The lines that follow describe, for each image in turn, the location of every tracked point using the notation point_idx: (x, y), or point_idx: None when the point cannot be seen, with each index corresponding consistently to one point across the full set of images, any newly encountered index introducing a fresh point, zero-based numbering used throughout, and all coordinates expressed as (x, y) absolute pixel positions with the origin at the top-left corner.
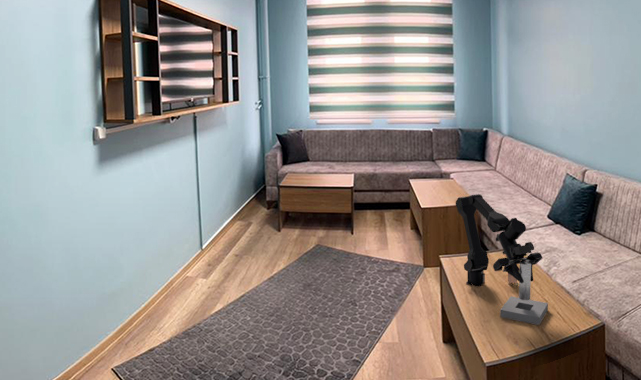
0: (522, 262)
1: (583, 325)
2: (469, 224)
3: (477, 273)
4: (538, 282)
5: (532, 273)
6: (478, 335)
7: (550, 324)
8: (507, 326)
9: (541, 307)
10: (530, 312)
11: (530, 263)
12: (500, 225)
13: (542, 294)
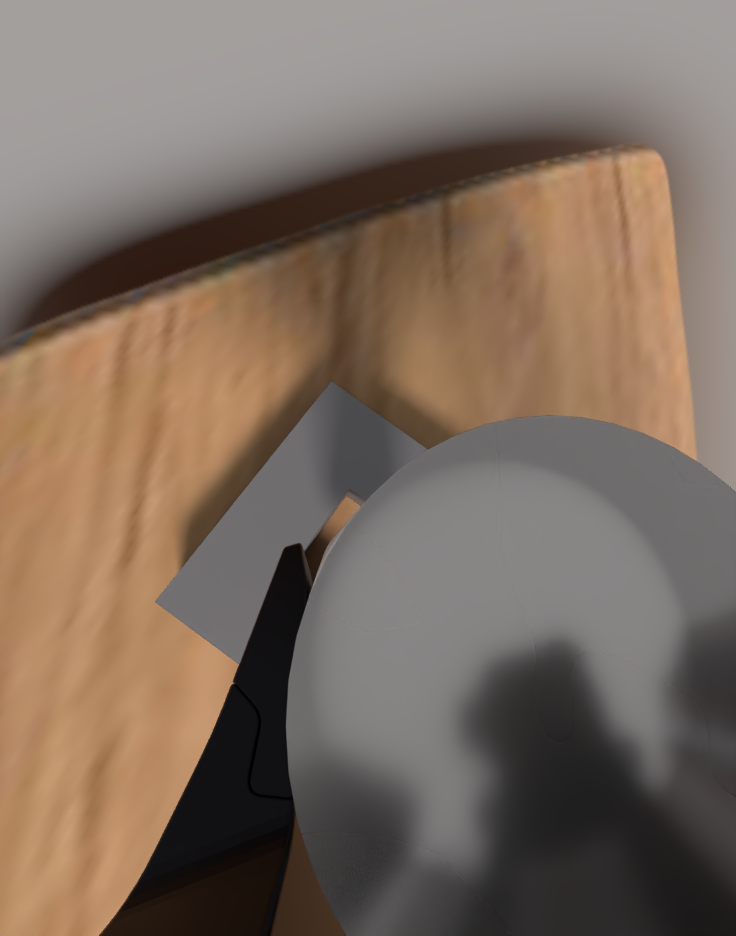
0: (704, 885)
1: (75, 360)
2: None
3: None
4: None
5: (252, 639)
6: (666, 344)
7: (262, 400)
8: (506, 412)
9: (245, 529)
10: (358, 458)
11: (329, 643)
12: None
13: (53, 928)
